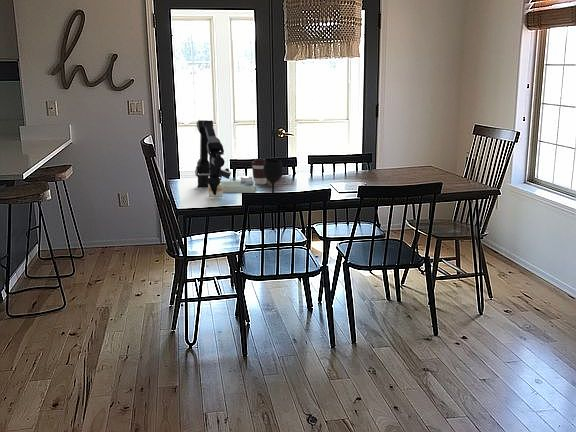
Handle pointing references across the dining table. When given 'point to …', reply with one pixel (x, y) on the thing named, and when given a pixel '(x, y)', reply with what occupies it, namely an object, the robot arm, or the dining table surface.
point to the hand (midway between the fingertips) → (215, 193)
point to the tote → (236, 187)
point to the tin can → (246, 181)
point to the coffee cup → (258, 171)
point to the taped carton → (219, 190)
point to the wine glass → (272, 171)
